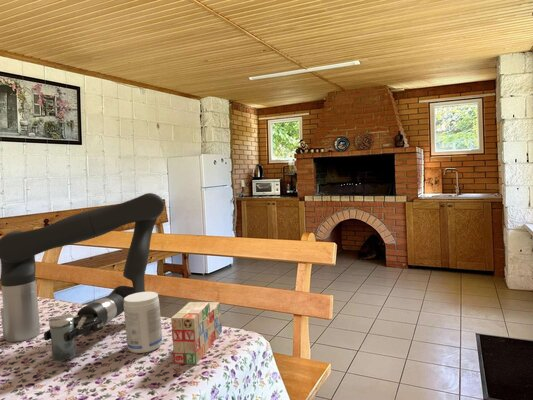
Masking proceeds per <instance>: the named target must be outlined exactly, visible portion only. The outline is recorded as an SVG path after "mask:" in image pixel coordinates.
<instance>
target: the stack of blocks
mask: <svg viewBox="0 0 533 400" xmlns="http://www.w3.org/2000/svg"><path fill="white" fill-rule="evenodd" d="M220 303H221V302H219V301H217V302H215V301H213V302H212V301H208V302H207V301H198V302H197V301H195V302H193V301H189V302H188V303H187V304H185V305H184V306H183V307H182V308H181V309H180V310H179V311H178V312H177V313H175V314H174V315H173V316H172V317H171V318H170V323H171V338H172V339H171V340H172V346H173V347H172V349H173V350H172V351H173V364H175V365H198V364H199V362H200V361H201V360H202V359H203V358H204V356H205V355H206V353H208V351H209V349H210V348H211V346H212V345H213V343H215V341H216V340H217V338H218V337H219V336H220V335H221V333H222V332H223V330H222V328H223V327H222V314H221V313H222V312H221V304H220Z"/></svg>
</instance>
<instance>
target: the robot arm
mask: <svg viewBox="0 0 533 400" xmlns="http://www.w3.org/2000/svg"><path fill="white" fill-rule="evenodd" d="M164 208H165V203H164V200H163V198H162V197H161V196H160V195H158V194H156V193H152V192H150V193H149V192H148V193H144V194H142V195H139V196H137V197H134V198H131V199H129V200H127V201H123V202H121V203H117V204H112V205H108V206H102V207H98V208H94V209H89V210H85V211H82V212H78V213H76V214H72V215H70V216H67V217H64V218H62V219H59V220H57V221H55V222H53V223H51V224H48V225H45V226H43V227H39V228H35V229H30V230H25V231H21V230H14V231H12V230H11V231H10V232H7V233H6V234H4V235H3V236H2V237H0V264H1V269H0V270H1V271H0V286H1V298H2V306H3V307H2V308H1V309H0V316H1V317H0V318H1V328H2V329H1V330H2V339H3V340H5V341H6V342H8V343H9V342H10V343H13V342H14V343H15V342H22V341H28V340H30V339H33V338H35V337H37V336H39V335H40V333H41V328H40V327H41V326H40V325H41V324H40V313H39V301H38V290H37V281H36V255H39V254H41V253H44V252H46V251H50V250H53V249H57V248H61V247H66V246H70V245H73V244H78V243H81V242H85V241H88V240H91V239H95V238H98V237H101V236H103V235H106V234H108V233H111V232H112V231H115V230H117V229H119V228H121V227H123V226H125V225H129V224H131V223H134V229H133V234H132V238H131V242H130V245H129V249H128V252H127V256H126V259H125V264H124V267H123V272H122V273H123V274H122V275H123V277H124V278H125V279H127V280H130V281H131V283H132V286H127V285H119V286H115V288H114V289H113V290H112V291H111V292H110V293H109V295H107V296H106V297H103V298H100V299H97V300H95V301H93V302H91V303H89V304H87V305H85V306H82V308H80V309H79V310H78V311H77V314H76V315H73V316H74V329H72V330H70V331H68V332H66V333H65V334H64V340H65V342H69V341H70V340H72V339H74V338H75V339H76V338H78V337H82V336H83V335H84V337H87V336H88V337H89V336H90V335H92V334H95V333H96V332H98V331H100V330H104V326H105V325H107V324H108V323H110V322H111V321H112V320H113V319H115V318H116V317H118V316H119V315H120V316H121V314H122V313H123V312H124V298H125V297H126V296H128V295H131V294H134V293H139V292H146V289H145V287H146V286H145V283H146V282H145V277H146V276H145V275H146V270H147V265H148V261H149V257H150V246H151V239H152V234H153V231H154V227H155V225H156V223H157V220H158V218H159V217H160V216H161V215H162V213H163V211H164ZM43 340H44V341H49V340H50V341H51V335H50V329H47V330H45V331H44V333H43Z"/></svg>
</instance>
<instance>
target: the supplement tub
mask: <svg viewBox="0 0 533 400" xmlns="http://www.w3.org/2000/svg"><path fill="white" fill-rule="evenodd" d="M123 312H124V315H123V316H124V325H125V334H126V345H127V350H128V351H129V352H131V353H133V354H146V353H149V352H152V351H154V350H157V349H159V348H160V347H161V345H163V334H162V333H163V331H162V330H163V329H162V321H161V320H162V319H161V318H162V317H161V308H160V299H159V294H158V292H156V291H145V292H139V293H134V294H131V295H128V296H126V297H125V298H124V311H123Z"/></svg>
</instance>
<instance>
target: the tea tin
mask: <svg viewBox="0 0 533 400" xmlns="http://www.w3.org/2000/svg"><path fill="white" fill-rule="evenodd" d="M74 316H75V315H72V314H62V315H58V316H55V317H51V318H50V319H49V320H48V325H49V326H48V327H49V330H50V335H51V339H50V343H51V344H50V346H51V347H50V348H51V359H52V361H55V362H62V361H66V360H69V359H72V358H74V357H75V356H77V355H76V354H77V351H76V349H77V348H76V337H75V338H74V339H72V340H70V341H69V342H65V340H64V334H65V333H66V332H68V331H70V330H72V329H74Z"/></svg>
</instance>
